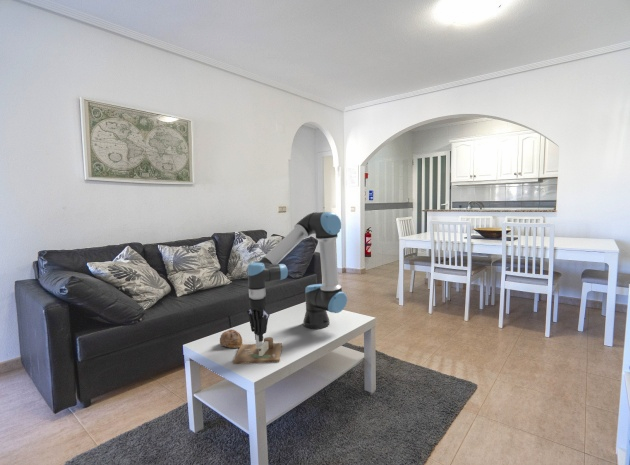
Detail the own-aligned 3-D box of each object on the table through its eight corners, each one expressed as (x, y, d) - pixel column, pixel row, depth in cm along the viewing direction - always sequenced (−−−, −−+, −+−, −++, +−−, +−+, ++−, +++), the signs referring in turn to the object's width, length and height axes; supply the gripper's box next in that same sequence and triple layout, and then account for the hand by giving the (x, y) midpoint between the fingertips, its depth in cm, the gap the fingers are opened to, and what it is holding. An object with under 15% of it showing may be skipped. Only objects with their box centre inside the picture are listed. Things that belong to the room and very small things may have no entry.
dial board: (282, 345, 162) (282, 342, 162) (279, 362, 144) (279, 358, 144) (241, 347, 162) (241, 344, 162) (233, 364, 144) (233, 360, 144)
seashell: (222, 350, 157) (219, 329, 161) (220, 353, 164) (217, 333, 168) (244, 345, 161) (241, 325, 165) (241, 349, 168) (238, 329, 172)
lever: (266, 345, 160) (265, 337, 159) (274, 345, 159) (274, 337, 158) (255, 357, 147) (254, 348, 146) (264, 357, 146) (264, 348, 146)
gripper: (241, 297, 151) (243, 347, 152) (260, 301, 143) (263, 354, 144) (254, 293, 157) (256, 341, 158) (273, 297, 149) (275, 348, 150)
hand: (259, 347), depth 151 cm, fingers closed
